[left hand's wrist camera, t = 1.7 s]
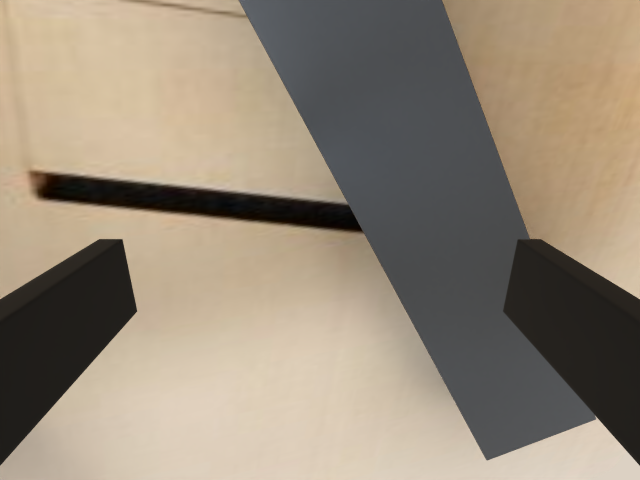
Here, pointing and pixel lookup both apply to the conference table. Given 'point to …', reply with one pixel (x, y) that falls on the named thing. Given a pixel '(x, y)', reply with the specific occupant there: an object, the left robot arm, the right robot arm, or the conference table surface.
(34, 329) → the left robot arm
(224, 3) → the conference table surface
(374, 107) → the long grey beam
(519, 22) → the conference table surface
